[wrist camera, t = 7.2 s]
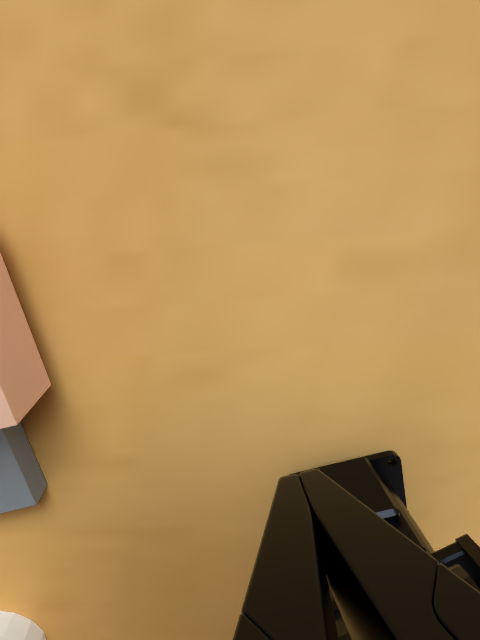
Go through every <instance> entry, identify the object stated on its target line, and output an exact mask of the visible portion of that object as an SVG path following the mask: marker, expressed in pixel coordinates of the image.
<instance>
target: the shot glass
mask: <svg viewBox="0 0 480 640" xmlns="http://www.w3.org/2000/svg"><path fill="white" fill-rule="evenodd" d="M0 640H47V639H46V637H45V634H44V631H43V630H42V629H41V628H40V627H39V626H38V625H36V624H35V623H34V622H33V621H32V620H31V619H28V618H26V617H24V616H22V615H19V614H17V613H15V612H6V611H0Z"/></svg>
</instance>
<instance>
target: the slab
mask: <svg viewBox="0 0 480 640" xmlns="http://www.w3.org/2000/svg"><path fill="white" fill-rule="evenodd" d="M50 386H51V383H50V380H49V378H48V375H47V373H46V370H45V367H44V365H43V362H42V360H41V357H40V354H39V352H38V349H37V347H36V344H35V341H34V339H33V336H32V333H31V331H30V328H29V326H28V323H27V320H26V318H25V315H24V313H23V310H22V307H21V305H20V302H19V300H18V297H17V294H16V292H15V289H14V287H13V284H12V281H11V279H10V276H9V274H8V271H7V268H6V266H5V263H4V261H3V258H2V255H1V253H0V429H2V428H6V427H11V426H15V425H17V424H18V423H19V422H20V421H21V420H22V419H23V417H24V416H25V415H26V414H27V413H28V412H29V410H30V409H31V408H32V407H33V406H34V404H35V403H36V402H37V401H38V400H39V399H40V397H41V396H42V395H43V394H44V393H45V391H46V390H47V389H48V388H49V387H50Z"/></svg>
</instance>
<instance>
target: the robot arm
mask: <svg viewBox="0 0 480 640" xmlns="http://www.w3.org/2000/svg"><path fill="white" fill-rule="evenodd" d="M390 459H393V460H392V461H391V462H388V461H389V460H390ZM455 540H456V542H455V543H453V544H450V545H448V546H446V547H444V548H442V549H440V550H438V551H436V552H435V551H434V550H433V548H432V547H431V545H430V544H429V542H428V541H427V539H426V538H425V536H424V535H423V533H422V531H421V530H420V528H419V527H418V525H417V524H416V522H415V521H414V519H413V518H412V516H411V515H410V513H409V512H408V510H407V506H406V498H405V490H404V482H403V473H402V465H401V459H400V457H399V456H398V455H397V454H396V453H395V452H394V451H386V452H381V453H377V454H373V455H369V456H365V457H360V458H356V459H352V460H348V461H344V462H340V463H335V464H331V465H327V466H323V467H319V468H315V469H310V470H306V471H302V472H298V473H294V474H290V475H288V476H284V477H281V478H280V479H279V481H278V484H277V488H276V491H275V495H274V498H273V502H272V505H271V509H270V512H269V516H268V519H267V523H266V526H265V530H264V533H263V537H262V540H261V544H260V547H259V551H258V554H257V558H256V561H255V565H254V568H253V572H252V575H251V579H250V582H249V586H248V589H247V593H246V596H245V600H244V603H243V607H242V611H241V612H242V614H241V615H240V617H239V620H238V624H237V627H236V631H235V634H234V638H233V640H480V547H479V546H478V545H477V544H476V543H475V542H474V541H473V540H472V539H471V538H470V537H469V536H468V535H467V534H465V535H463V536H461V537H459V538H457V539H455Z"/></svg>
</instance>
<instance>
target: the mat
mask: <svg viewBox="0 0 480 640" xmlns="http://www.w3.org/2000/svg"><path fill="white" fill-rule="evenodd" d="M46 487H47V483H46V480H45V478H44V476H43V473H42V471H41V469H40V466H39V464H38V462H37V459H36V457H35V455H34V452H33V450H32V448H31V445H30V443H29V441H28V438H27V436H26V434H25V431H24V429H23V427H22V424H21V422H19V423H18V424H17V425H15V426H11V427H6V428H2V429H0V514H1V513H5V512H9V511H13V510H17V509H22V508H26V507H30V506H34V505H36V504H37V503H38V501H39V499H40V497H41V496H42V494H43V492H44V490H45V488H46Z"/></svg>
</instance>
